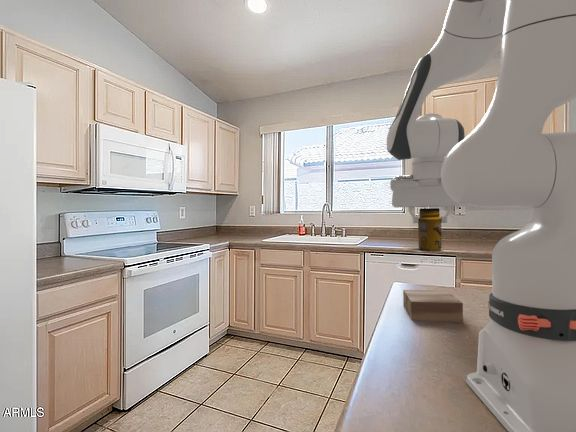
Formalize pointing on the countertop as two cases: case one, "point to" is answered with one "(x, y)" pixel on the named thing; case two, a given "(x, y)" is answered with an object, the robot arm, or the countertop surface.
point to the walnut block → (432, 305)
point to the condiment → (429, 231)
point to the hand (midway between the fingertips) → (429, 223)
